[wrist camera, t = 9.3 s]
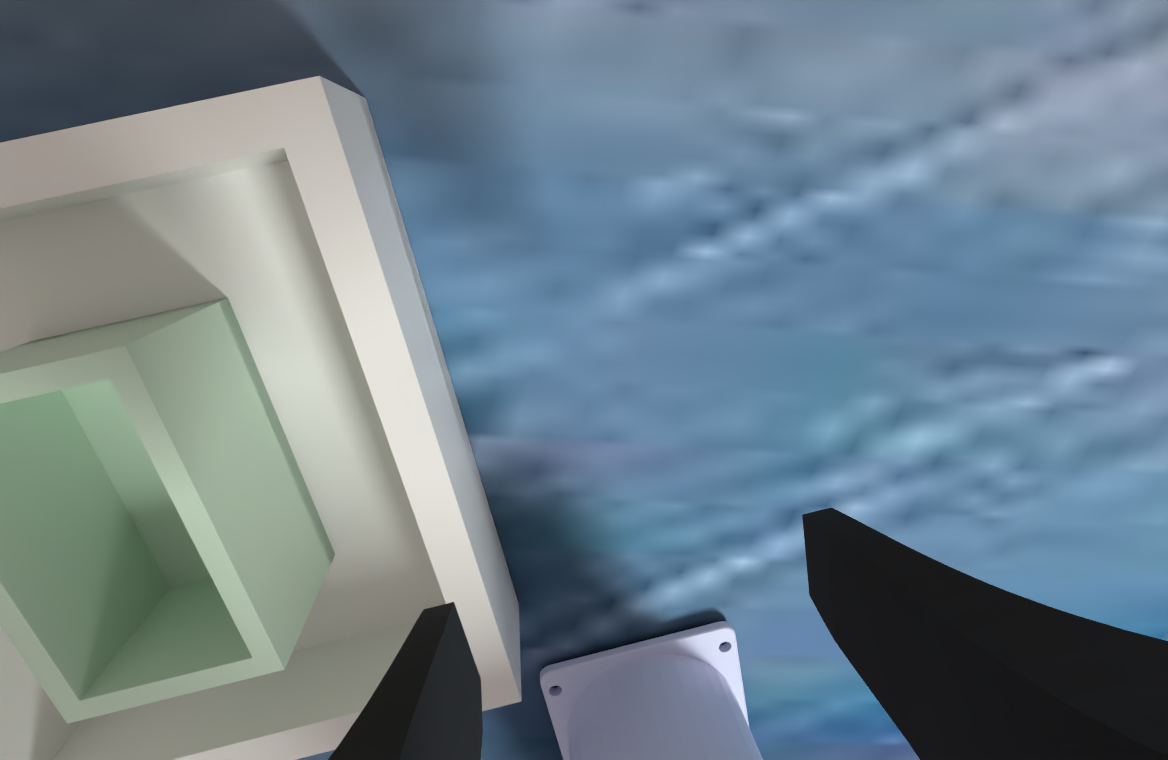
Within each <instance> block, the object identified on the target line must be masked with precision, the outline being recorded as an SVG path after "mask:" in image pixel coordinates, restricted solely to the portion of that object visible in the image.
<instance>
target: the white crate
mask: <svg viewBox="0 0 1168 760" xmlns="http://www.w3.org/2000/svg"><path fill="white" fill-rule="evenodd" d="M223 298H228V299H229V301H230V304H231V306H232V308H233V311H234V313H235V316H236V318H237V320H238V323H239V325H240V328H241V330H242V332H243V335H244V337H245V340H246V342H247V344H248V347H249V349H250V352H251V354H252V356H253V359H254V361H255V363H256V366H257V368H258V371H259V373H260V375H261V378H262V380H263V383H264V385H265V387H266V390H267V392H268V395H269V397H270V399H271V402H272V404H273V407H274V409H275V411H276V414H277V416H278V419H279V421H280V423H281V426H282V428H283V431H284V433H285V435H286V438H287V440H288V443H289V445H290V447H291V450H292V452H293V454H294V457H295V459H296V462H297V464H298V466H299V469H300V471H301V474H302V476H303V478H304V481H305V483H306V486H307V488H308V490H309V493H310V495H311V498H312V500H313V502H314V505H315V507H316V510H317V512H318V514H319V517H320V519H321V522H322V524H323V526H324V529H325V531H326V533H327V536H328V538H329V541H330V543H331V545H332V548H333V550H334V553H335V556H334V559H333V561H332V563H331V565H330V568H329V570H328V572H327V574H326V577H325V579H324V581H323V584H322V586H321V588H320V590H319V593H318V595H317V597H316V599H315V602H314V604H313V606H312V608H311V611H310V613H309V615H308V618H307V620H306V622H305V624H304V627H303V629H302V631H301V633H300V636H299V638H298V640H297V642H296V645H295V647H294V649H293V652H292V654H291V656H290V658H289V661H288V663H287V665H286V667H285V670H281V671H277V672H273V673H269V674H265V675H261V676H257V677H253V678H249V679H245V680H241V681H237V682H233V683H229V684H225V685H221V686H217V687H213V688H209V689H205V690H201V691H197V692H193V693H189V694H185V695H181V696H177V697H173V698H169V699H165V700H161V701H157V702H153V703H149V704H145V705H141V706H137V707H133V708H129V709H125V710H121V711H117V712H113V713H109V714H105V715H101V716H96V717H92V718H88V719H84V720H80V721H76V722H72V723H68V724H67V723H66V721H65V720H64V718H63V717H62V715H61V714H60V713H59V711H58V710H57V708H56V707H55V705H54V704H53V702H52V701H51V699H50V698H49V697H48V695H47V694H46V692H45V691H44V689H43V688H42V686H41V685H40V683H39V682H38V681H37V679H36V678H35V676H34V675H33V673H32V672H31V670H30V669H29V667H28V666H27V665H26V663H25V662H24V660H23V659H22V657H21V656H20V654H19V653H18V651H17V650H16V649H15V647H14V646H13V644H12V643H11V641H10V640H9V638H8V637H7V635H6V634H5V633H4V631H3V630H2V628H1V627H0V760H296V759H300V758H304V757H308V756H312V755H316V754H320V753H324V752H327V751H331V750H335V749H336V748H337V747H338V745H339V744H340V743H341V741H342V740H343V738H344V737H345V735H346V734H347V732H348V731H349V729H350V728H351V726H352V725H353V723H354V722H355V720H356V719H357V718H358V716H359V715H360V713H361V712H362V710H363V709H364V707H365V706H366V704H367V703H368V701H369V699H370V698H371V696H372V695H373V693H374V691H375V690H376V688H377V687H378V685H379V683H380V682H381V680H382V678H383V677H384V675H385V674H386V672H387V670H388V669H389V667H390V665H391V664H392V662H393V660H394V659H395V657H396V655H397V654H398V652H399V650H400V648H401V647H402V645H403V643H404V642H405V640H406V638H407V636H408V635H409V633H410V631H411V629H412V628H413V626H414V624H415V623H416V621H417V619H418V618H419V616H420V614H421V613H422V611H423V610H424V609H427V608H431V607H435V606H439V605H443V604H447V603H451V602H454V603H455V606H456V609H457V612H458V615H459V618H460V621H461V623H462V626H463V629H464V632H465V635H466V638H467V641H468V644H469V646H470V649H471V652H472V655H473V658H474V661H475V664H476V666H477V669H478V672H479V675H480V678H481V693H482V711H486V710H490V709H494V708H498V707H502V706H506V705H510V704H513V703H517V702H521V701H522V700H521V664H520V628H519V603H518V600H517V597H516V593H515V590H514V587H513V583H512V580H511V577H510V573H509V570H508V567H507V564H506V560H505V557H504V554H503V550H502V547H501V544H500V540H499V537H498V534H497V530H496V527H495V524H494V521H493V517H492V514H491V511H490V507H489V504H488V501H487V497H486V494H485V491H484V487H483V484H482V481H481V478H480V474H479V471H478V468H477V464H476V461H475V458H474V454H473V451H472V448H471V444H470V441H469V438H468V435H467V431H466V428H465V425H464V421H463V418H462V415H461V411H460V408H459V405H458V402H457V398H456V395H455V392H454V388H453V385H452V382H451V378H450V375H449V372H448V368H447V365H446V362H445V359H444V355H443V352H442V349H441V345H440V342H439V339H438V335H437V332H436V329H435V325H434V322H433V319H432V316H431V312H430V309H429V306H428V302H427V299H426V296H425V292H424V289H423V286H422V282H421V279H420V276H419V273H418V269H417V266H416V263H415V259H414V256H413V253H412V249H411V246H410V243H409V239H408V236H407V233H406V230H405V226H404V223H403V220H402V216H401V213H400V210H399V206H398V203H397V200H396V196H395V193H394V190H393V187H392V183H391V180H390V177H389V173H388V170H387V167H386V163H385V160H384V157H383V153H382V150H381V147H380V144H379V140H378V137H377V134H376V130H375V127H374V124H373V120H372V117H371V114H370V111H369V107H368V104H367V101H366V98H365V97H363V96H360V95H358V94H356V93H354V92H352V91H350V90H348V89H346V88H344V87H342V86H340V85H338V84H335V83H333V82H331V81H329V80H327V79H325V78H323V77H321V76H315V77H311V78H306V79H301V80H296V81H292V82H287V83H282V84H277V85H273V86H268V87H263V88H258V89H253V90H249V91H244V92H239V93H234V94H230V95H225V96H220V97H215V98H211V99H206V100H201V101H196V102H192V103H187V104H182V105H177V106H172V107H168V108H163V109H158V110H153V111H149V112H144V113H139V114H134V115H130V116H125V117H120V118H115V119H111V120H106V121H101V122H96V123H91V124H87V125H82V126H77V127H72V128H68V129H63V130H58V131H53V132H49V133H44V134H39V135H34V136H29V137H25V138H20V139H15V140H10V141H6V142H1V143H0V352H2V351H5V350H8V349H10V348H13V347H16V346H18V345H21V344H24V343H27V342H29V341H34V340H38V339H43V338H47V337H52V336H56V335H61V334H65V333H70V332H74V331H79V330H83V329H88V328H92V327H97V326H101V325H106V324H110V323H115V322H119V321H124V320H128V319H133V318H138V317H142V316H147V315H151V314H156V313H160V312H165V311H169V310H174V309H178V308H183V307H187V306H192V305H196V304H201V303H205V302H210V301H214V300H219V299H223Z"/></svg>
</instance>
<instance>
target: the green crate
mask: <svg viewBox="0 0 1168 760" xmlns="http://www.w3.org/2000/svg"><path fill="white" fill-rule="evenodd" d="M334 556H335V553H334V550H333V548H332V545H331V543H330V541H329V538H328V536H327V533H326V531H325V529H324V526H323V524H322V522H321V519H320V517H319V514H318V512H317V510H316V507H315V505H314V502H313V500H312V498H311V495H310V493H309V490H308V488H307V486H306V483H305V481H304V478H303V476H302V474H301V471H300V469H299V466H298V464H297V462H296V459H295V457H294V454H293V452H292V450H291V447H290V445H289V443H288V440H287V438H286V435H285V433H284V431H283V428H282V426H281V423H280V421H279V419H278V416H277V414H276V411H275V409H274V407H273V404H272V402H271V399H270V397H269V395H268V392H267V390H266V387H265V385H264V383H263V380H262V378H261V375H260V373H259V371H258V368H257V366H256V363H255V361H254V359H253V356H252V354H251V352H250V349H249V347H248V344H247V342H246V340H245V337H244V335H243V332H242V330H241V328H240V325H239V323H238V320H237V318H236V316H235V313H234V311H233V308H232V306H231V304H230V301H229V299H228V298H223V299H219V300H214V301H210V302H205V303H201V304H196V305H192V306H187V307H183V308H178V309H174V310H169V311H165V312H160V313H156V314H151V315H147V316H142V317H138V318H133V319H128V320H124V321H119V322H115V323H110V324H106V325H101V326H97V327H92V328H88V329H83V330H79V331H74V332H70V333H65V334H61V335H56V336H52V337H47V338H43V339H38V340H34V341H29V342H27V343H24V344H21V345H18V346H16V347H13V348H10V349H8V350H5V351H2V352H0V627H1V628H2V630H3V631H4V633H5V634H6V635H7V637H8V638H9V640H10V641H11V643H12V644H13V646H14V647H15V649H16V650H17V651H18V653H19V654H20V656H21V657H22V659H23V660H24V662H25V663H26V665H27V666H28V667H29V669H30V670H31V672H32V673H33V675H34V676H35V678H36V679H37V681H38V682H39V683H40V685H41V686H42V688H43V689H44V691H45V692H46V694H47V695H48V697H49V698H50V699H51V701H52V702H53V704H54V705H55V707H56V708H57V710H58V711H59V713H60V714H61V715H62V717H63V718H64V720H65V721H66V723H67V724H68V723H72V722H76V721H80V720H84V719H88V718H92V717H96V716H101V715H105V714H109V713H113V712H117V711H121V710H125V709H129V708H133V707H137V706H141V705H145V704H149V703H153V702H157V701H161V700H165V699H169V698H173V697H177V696H181V695H185V694H189V693H193V692H197V691H201V690H205V689H209V688H213V687H217V686H221V685H225V684H229V683H233V682H237V681H241V680H245V679H249V678H253V677H257V676H261V675H265V674H269V673H273V672H277V671H281V670H285V667H286V665H287V663H288V661H289V658H290V656H291V654H292V652H293V649H294V647H295V645H296V642H297V640H298V638H299V636H300V633H301V631H302V629H303V627H304V624H305V622H306V620H307V618H308V615H309V613H310V611H311V608H312V606H313V604H314V602H315V599H316V597H317V595H318V593H319V590H320V588H321V586H322V584H323V581H324V579H325V577H326V574H327V572H328V570H329V568H330V565H331V563H332V561H333V559H334Z"/></svg>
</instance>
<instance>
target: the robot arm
mask: <svg viewBox="0 0 1168 760" xmlns="http://www.w3.org/2000/svg"><path fill="white" fill-rule="evenodd" d="M802 516H803V527H804V538H805V549H806V560H807V572H808V583H809V594H810V597H811V599H812V601H813V602H814V604H815V606H816V608H817V610H818V612H819V613H820V615H821V617H822V619H823V621H824V623H825V624H826V626H827V628H828V630H829V631H830V633H831V635H832V637H833V638H834V640H835V642H836V643H837V644H838V646H839V647H840V649H841V650H842V651H843V653H844V654H845V656H846V657H847V658H848V660H849V661H850V663H851V664H852V665H853V667H854V668H855V670H856V671H857V672H858V674H859V675H860V676H861V678H862V679H863V681H864V682H865V683H866V685H867V686H868V687H869V689H870V690H871V692H872V693H873V694H874V696H875V697H876V698H877V700H878V701H879V702H880V704H881V705H882V707H883V708H884V709H885V711H886V712H887V713H888V715H889V716H890V718H891V719H892V720H893V722H894V723H895V724H896V726H897V727H898V729H899V730H900V731H901V733H902V734H903V735H904V737H905V738H906V739H907V741H908V742H909V744H910V745H911V747H912V748H913V750H914V751H915V753H916V754H917V756H918V757H919V759H920V760H1168V641H1165V640H1161V639H1157V638H1153V637H1149V636H1145V635H1142V634H1138V633H1134V632H1130V631H1127V630H1123V629H1120V628H1116V627H1113V626H1109V625H1106V624H1103V623H1099V622H1096V621H1093V620H1089V619H1086V618H1083V617H1079V616H1076V615H1073V614H1070V613H1067V612H1064V611H1061V610H1058V609H1055V608H1052V607H1049V606H1046V605H1043V604H1041V603H1038V602H1035V601H1032V600H1030V599H1027V598H1024V597H1021V596H1019V595H1016V594H1013V593H1010V592H1008V591H1005V590H1003V589H1000V588H998V587H995V586H993V585H990V584H988V583H985V582H983V581H981V580H978V579H976V578H974V577H971V576H969V575H967V574H965V573H962V572H960V571H958V570H955V569H953V568H951V567H949V566H947V565H944V564H942V563H940V562H938V561H936V560H934V559H932V558H929V557H927V556H925V555H923V554H921V553H919V552H917V551H915V550H913V549H911V548H909V547H907V546H905V545H903V544H901V543H899V542H897V541H895V540H893V539H891V538H889V537H887V536H886V535H884V534H882V533H880V532H878V531H876V530H874V529H872V528H870V527H868V526H866V525H864V524H863V523H861V522H859V521H857V520H855V519H853V518H851V517H849V516H847V515H845V514H843V513H841V512H839V511H837V510H835V509H833V508H828V509H824V510H820V511H816V512H812V513H808V514H804V515H802ZM723 642H726V643H725V644H723V645H720V644H721V643H723ZM540 685H541V688H542V691H543V694H544V698H545V701H546V704H547V708H548V711H549V714H550V717H551V721H552V724H553V727H554V731H555V734H556V737H557V740H558V744H559V747H560V750H561V754H562V757H563V760H763V759H762V756H761V754H760V752H759V749H758V747H757V745H756V743H755V740H754V738H753V736H752V733H751V731H750V729H749V723H748V716H747V710H746V703H745V696H744V689H743V682H742V676H741V669H740V662H739V655H738V649H737V642H736V635H735V632H734V629H733V627H732V625H731V624H730V623H728V622H725V621H721V622H716V623H712V624H708V625H704V626H700V627H696V628H692V629H689V630H685V631H681V632H677V633H673V634H669V635H665V636H661V637H657V638H653V639H649V640H646V641H642V642H638V643H634V644H630V645H626V646H622V647H618V648H614V649H610V650H606V651H603V652H599V653H595V654H591V655H587V656H583V657H579V658H575V659H571V660H567V661H563V662H560V663H556V664H552V665H548V666H546V667H544V668H543V669H542V670H541V672H540ZM553 686H559V687H557V688H552V687H553ZM482 733H483V728H482V693H481V678H480V675H479V672H478V669H477V666H476V664H475V661H474V658H473V655H472V652H471V649H470V646H469V644H468V641H467V638H466V635H465V632H464V629H463V626H462V623H461V621H460V618H459V615H458V612H457V609H456V606H455V603H454V602H451V603H447V604H443V605H439V606H435V607H431V608H427V609H424V610H423V611H422V613H421V614H420V616H419V618H418V619H417V621H416V623H415V624H414V626H413V628H412V629H411V631H410V633H409V635H408V636H407V638H406V640H405V642H404V643H403V645H402V647H401V648H400V650H399V652H398V654H397V655H396V657H395V659H394V660H393V662H392V664H391V665H390V667H389V669H388V670H387V672H386V674H385V675H384V677H383V678H382V680H381V682H380V683H379V685H378V687H377V688H376V690H375V691H374V693H373V695H372V696H371V698H370V699H369V701H368V703H367V704H366V706H365V707H364V709H363V710H362V712H361V713H360V715H359V716H358V718H357V719H356V720H355V722H354V723H353V725H352V726H351V728H350V729H349V731H348V732H347V734H346V735H345V737H344V738H343V740H342V741H341V743H340V744H339V745H338V747H337V748H336V750H335V751H334V752H333V754H332V755H331V756H330V758H329V759H328V760H480V758H481V746H482Z"/></svg>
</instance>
